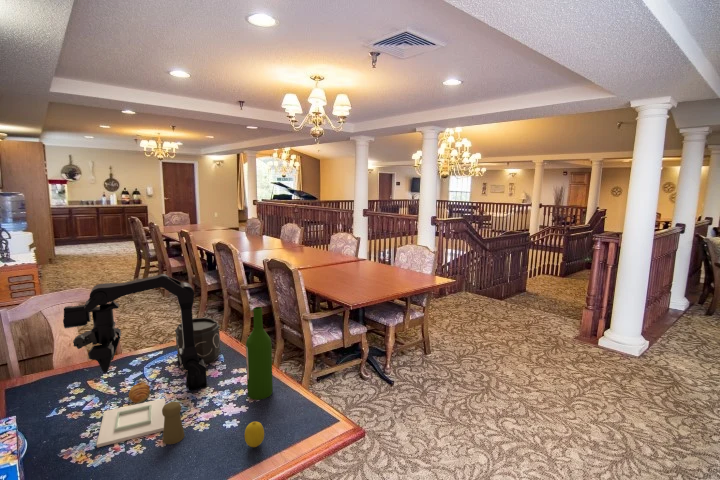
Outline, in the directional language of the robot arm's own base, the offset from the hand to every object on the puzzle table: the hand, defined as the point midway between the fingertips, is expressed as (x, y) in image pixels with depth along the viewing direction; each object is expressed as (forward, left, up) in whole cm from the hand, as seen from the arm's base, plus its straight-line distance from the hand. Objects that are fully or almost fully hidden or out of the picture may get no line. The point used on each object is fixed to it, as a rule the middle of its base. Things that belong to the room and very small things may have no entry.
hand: (108, 366), depth 130 cm
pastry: (-8, -2, -15) cm, 17 cm away
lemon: (-39, +43, -15) cm, 60 cm away
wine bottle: (-47, +15, -15) cm, 52 cm away
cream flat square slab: (-7, +14, -14) cm, 21 cm away
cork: (-18, +28, -15) cm, 36 cm away
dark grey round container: (-30, -25, -15) cm, 42 cm away
